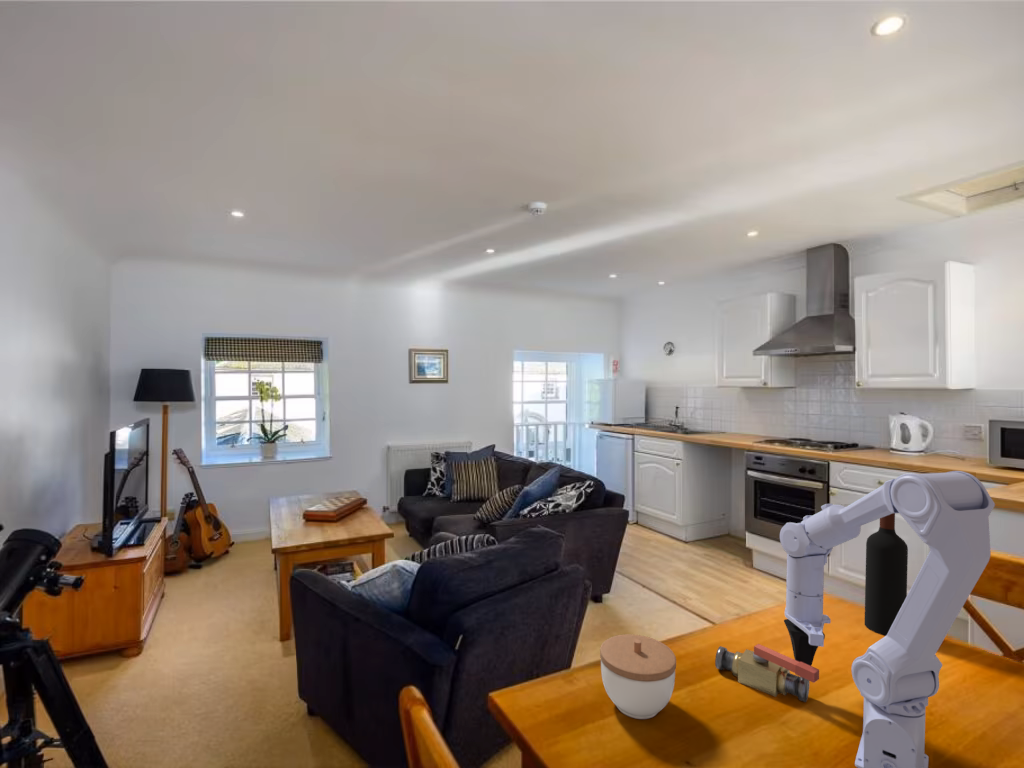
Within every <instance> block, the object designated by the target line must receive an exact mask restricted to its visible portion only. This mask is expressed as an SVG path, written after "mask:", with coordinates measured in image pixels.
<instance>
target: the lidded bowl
mask: <svg viewBox="0 0 1024 768" xmlns="http://www.w3.org/2000/svg"><path fill="white" fill-rule="evenodd" d="M599 648H600V649H599V652H600V653H599V657H600V671H601V672H600V673H601V679H602V683H603V686H604V689H605V693H606V694H607V696H608V698H610V700H611V701H612V702H613V704H614V705H615V706H616V708H617V709H618V711H620V712H621V713H622V714H623V715H625V716H627V717H629V718H632V719H636V720H648V719H651V718H654V717H656V716H657V714H658V713H659V712H660V711H662V710H663V709H664V708H666V706H667V705H668V703H669V702H670V700H671V698H672V695H673V691H674V689H675V682H676V681H675V680H676V679H675V678H676V669H677V668H676V667H677V658H676V657H677V656H676V655H675V653H674V652H673V650H672V649H671V648H670V647H669V646H668V645H666V643H665V644H664V643H663V642H661V641H660V640H658V639H656V638H652V637H651V636H645V635H640V634H633V633H632V634H631V633H630V634H629V633H628V634H627V633H626V634H625V633H624V634H618V635H614V636H611V637H609V638H607V639H605V640H604V641H603V642H602V643H601V645H600V647H599Z"/></svg>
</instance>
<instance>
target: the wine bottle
mask: <svg viewBox="0 0 1024 768" xmlns="http://www.w3.org/2000/svg"><path fill="white" fill-rule="evenodd" d="M895 525H896V513H893V514H890V515H887V516H885V517H882V518H880V519H879V527H878V530H877V531H875V532H874V533H872V534H870V535H869V536H868V537H867V538H866V542H865V582H864V583H865V586H864V588H865V590H864V591H865V592H864V595H865V596H864V626H865V628H866V629H868V630H870V631H872V632H873V633H876V634H878V635H882V636H884V637H885V636H886V635H887V634H888V632H889V630H890V628H891V626H892V624H893V622H894V620H895V618H896V616H897V614H898V612H899V610H900V608H901V606H902V604H903V603H904V601H905V599H906V597H907V595H908V562H909V561H908V559H909V557H908V556H909V555H908V554H909V553H908V552H909V549H908V544H907V543H906V542H905V540H904V539H903V538H902V537H901V536H899V535H898V534H897V532H896V528H895V527H896V526H895Z"/></svg>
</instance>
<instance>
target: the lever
mask: <svg viewBox="0 0 1024 768" xmlns="http://www.w3.org/2000/svg"><path fill="white" fill-rule="evenodd" d="M753 659H754V660H755V661H757V662H760V663H768V662H769V661H770V662H772V663H774V664H777V665H779V666H781V667H783V668H785V669H787V670H789V671H790V672H792V673H794V675H796V676H799V677H802V678H805V679H807V680H809V682H812V683H813V684H814V683H816V682H817V681H819V679H820V669H819V668H816V667H814V666H812V665H811V666H810V665H808V664H805V663H803V662H799V661H796V660H795V658H792V657H790V656H787V655H785V654H782V653H780V652H778V651H775V650H773V649H771V648H769V647H767V646H764V645H763V644H760V643H757V644H756V645H754V646H753Z"/></svg>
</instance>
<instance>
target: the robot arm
mask: <svg viewBox="0 0 1024 768" xmlns="http://www.w3.org/2000/svg"><path fill="white" fill-rule="evenodd" d="M995 506H996V503H995V502H994V500H993V499H992V497H991V495H990V493H989V492H988V491H987V489H986V487H985V486H984V484H983V482H981V481H980V479H978V478H977V476H975V475H973V474H972V473H969V472H966V471H962V470H952V471H947V472H932V473H914V472H912V473H911V472H910V473H909V472H908V473H903V474H900V475H899V476H897V477H896V478H893V479H889V480H886V481H884V483H883V484H882V485H880V486H879V487H877V488H876V489H874V490H872V491H870V492H869V493H866V494H865V495H863V496H862V497H860V498H859V499H856V500H855V501H853V502H852V503H850V504H849V505H847V506H844V505H842V504H833V503H825V504H823V505H821V506H820V508H821V510H820V511H819V512H816V513H815V514H813V515H810V514H809V515H808V514H807V515H805V516H803V518H802V521H800V522H797V523H796V522H791V521H789V522H786V523H785V524H784V525H783V526H782V527H781V529H780V532H779V541H780V542H779V543H780V545H781V547H782V549H783V550H784V551H785V552H786V584H785V585H786V588H785V589H786V592H785V593H786V596H785V608H784V616H785V619H784V620H783V622H784V624H785V627H786V629H787V632H788V634H789V638H790V642H791V647H792V652H793V657H794V658H793V659H794V660H796V661H799V662H803V663H805V664H808V665H810V666H812V664H813V662H814V658H815V655H816V653H817V650H818V648H819V647H821V648H822V647H824V646H825V644H824V643H825V642H824V641H825V638H826V635H825V633H824V625H825V624H831V621H832V620H831V618H830V617H829V615H827V614H824V584H825V583H824V582H825V578H824V576H825V565H826V564H828V555H830V554H831V553H832V551H833V549H834V548H835V547H837V546H839V545H842V544H845V543H846V542H849V541H851V540H853V539H856V538H857V537H859V535H860V533H861V530H862V529H861V528H862V526H864V525H866V524H869V523H872V522H874V521H877V520H880V518H882V517H885V516H887V515H890V514H893V513H895V514H900V516H901V517H902V518H903V519H904V520H905V522H906V523H907V524H908V525H909V527H911V529H912V530H913V531H914V533H916V535H917V536H918V537H919V539H921V541H923V543H924V544H925V545H927V546H928V547H929V552H928V554H927V556H926V558H925V560H924V562H923V564H922V565H921V568H920V570H919V572H918V573H917V575H916V577H915V580H914V581H913V583H912V585H911V587H910V589H909V591H908V592H907V597H906V599H905V601H904V603H903V604H902V606H901V608H900V610H899V612H898V614H897V616H896V618H895V620H894V622H893V624H892V626H891V628H890V630H889V632H888V634H887V635H886V636H885V635H884V637H882V638H880V639H879V640H878V641H875V643H873V644H872V645H870V646H869V647H868V648H867V650H866V652H865V653H864V654H862V655H860V656H858V657H856V658H855V659H854V660H852V661H853V662H852V664H851V669H850V670H851V675H852V680H853V682H854V684H855V686H856V688H857V690H858V691H859V692H860V696H861V697H863V719H862V721H863V724H862V735H861V737H860V741H859V745H858V750H857V753H856V756H855V761H854V766H855V767H856V768H929V758H930V757H929V756H928V755H927V754H926V753H925V744H926V742H925V741H926V739H925V738H926V733H925V732H926V707H928V706H929V698H930V697H931V698H932V697H933V696H935V695H936V694H937V693H938V692H939V689H940V679H939V677H940V676H939V674H940V670H941V669H942V667H943V663H942V662H941V661H940V659H939V658H938V657H937V655H936V653H937V652H938V651H939V649H940V647H941V645H942V644H943V642H944V640H945V638H946V637H947V634H948V633H949V631H950V630H951V628H952V626H953V624H954V623H955V621H956V619H957V617H958V616H959V614H960V612H961V610H962V609H963V607H964V605H965V604H966V602H967V600H968V598H969V596H970V594H972V591H973V590H974V588H975V586H976V584H977V582H978V581H979V579H980V577H981V576H982V574H983V572H984V570H985V569H986V567H987V565H988V564H989V561H990V559H991V538H990V536H991V535H990V523H989V522H990V521H989V518H990V515H991V513H992V511H993V509H994V508H995Z"/></svg>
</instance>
